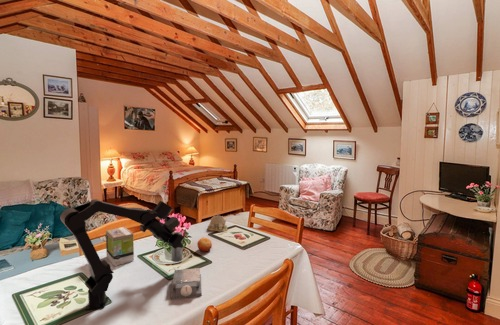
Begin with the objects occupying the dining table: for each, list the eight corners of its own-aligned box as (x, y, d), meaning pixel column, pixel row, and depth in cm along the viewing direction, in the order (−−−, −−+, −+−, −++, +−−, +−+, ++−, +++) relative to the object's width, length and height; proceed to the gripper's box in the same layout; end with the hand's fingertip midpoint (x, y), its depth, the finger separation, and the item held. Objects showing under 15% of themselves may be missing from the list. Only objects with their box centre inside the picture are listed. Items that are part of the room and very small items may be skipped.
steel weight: (182, 261, 125) (181, 235, 124) (171, 262, 124) (170, 236, 123) (182, 256, 130) (182, 231, 128) (172, 257, 129) (171, 232, 127)
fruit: (203, 243, 159) (207, 233, 155) (210, 253, 155) (215, 243, 152) (192, 247, 152) (196, 237, 149) (200, 257, 149) (204, 247, 145)
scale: (201, 296, 108) (201, 284, 108) (170, 299, 106) (170, 287, 105) (200, 276, 123) (200, 266, 123) (173, 279, 121) (173, 268, 120)
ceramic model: (228, 226, 193) (228, 213, 192) (226, 232, 182) (226, 217, 181) (209, 226, 193) (209, 212, 192) (206, 231, 182) (206, 217, 181)
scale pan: (200, 286, 112) (200, 280, 112) (172, 289, 110) (172, 283, 109) (199, 273, 122) (199, 267, 122) (174, 275, 120) (174, 270, 120)
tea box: (134, 260, 139) (133, 233, 137) (113, 266, 132) (112, 237, 131) (125, 251, 150) (124, 225, 149) (106, 256, 144) (104, 229, 142)
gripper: (179, 217, 115) (200, 235, 124) (158, 209, 128) (179, 226, 137) (163, 239, 110) (186, 257, 119) (143, 228, 123) (165, 245, 132)
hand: (179, 245), depth 127 cm, fingers closed on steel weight, 5 cm apart
